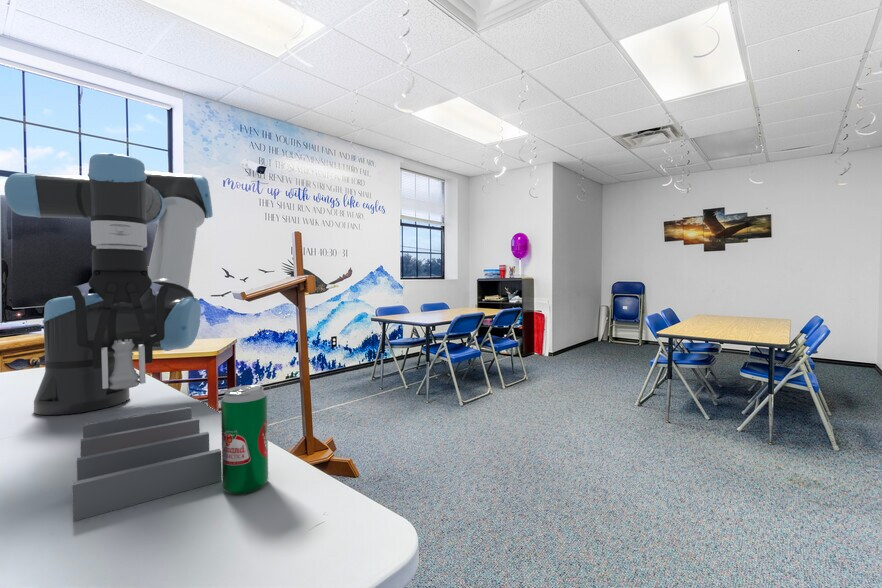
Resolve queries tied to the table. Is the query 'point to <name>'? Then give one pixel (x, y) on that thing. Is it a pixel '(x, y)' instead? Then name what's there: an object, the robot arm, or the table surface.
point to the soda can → (244, 439)
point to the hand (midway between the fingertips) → (124, 384)
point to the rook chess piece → (123, 366)
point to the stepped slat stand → (141, 461)
